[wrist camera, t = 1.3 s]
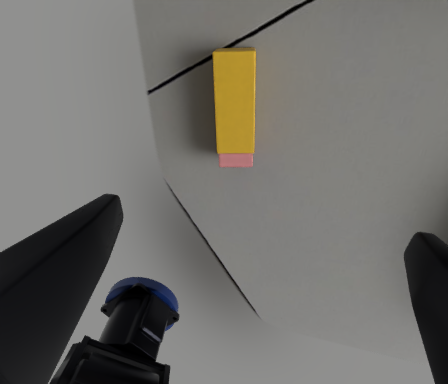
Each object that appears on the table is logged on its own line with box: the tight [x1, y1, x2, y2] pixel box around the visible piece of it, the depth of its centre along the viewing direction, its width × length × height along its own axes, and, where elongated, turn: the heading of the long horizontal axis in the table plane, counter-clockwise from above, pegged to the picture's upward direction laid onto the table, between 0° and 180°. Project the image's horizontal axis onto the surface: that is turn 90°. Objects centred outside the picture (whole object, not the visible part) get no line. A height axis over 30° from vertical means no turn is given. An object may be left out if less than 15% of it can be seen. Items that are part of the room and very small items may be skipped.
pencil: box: [212, 47, 256, 167], centre depth 20 cm, size 7×2×2 cm, turn 2°
